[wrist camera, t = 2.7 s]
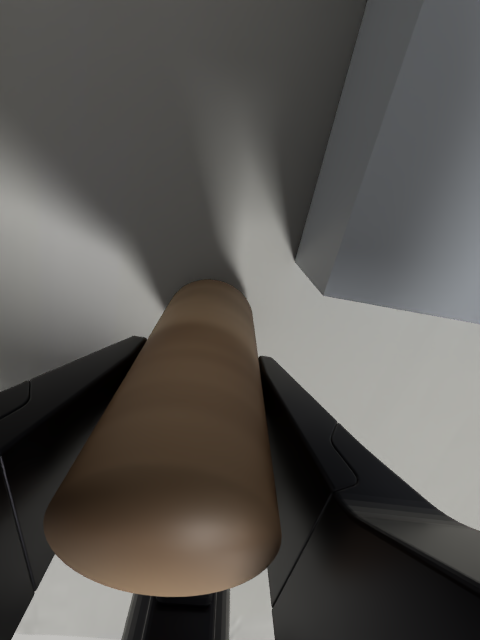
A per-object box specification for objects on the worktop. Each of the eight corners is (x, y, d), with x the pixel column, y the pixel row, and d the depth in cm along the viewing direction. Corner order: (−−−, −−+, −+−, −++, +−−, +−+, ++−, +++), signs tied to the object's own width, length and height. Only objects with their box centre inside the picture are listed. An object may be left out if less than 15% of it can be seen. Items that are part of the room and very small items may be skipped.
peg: (243, 362, 12) (254, 603, 5) (163, 350, 12) (55, 589, 5) (261, 288, 11) (311, 480, 4) (170, 271, 11) (26, 447, 3)
